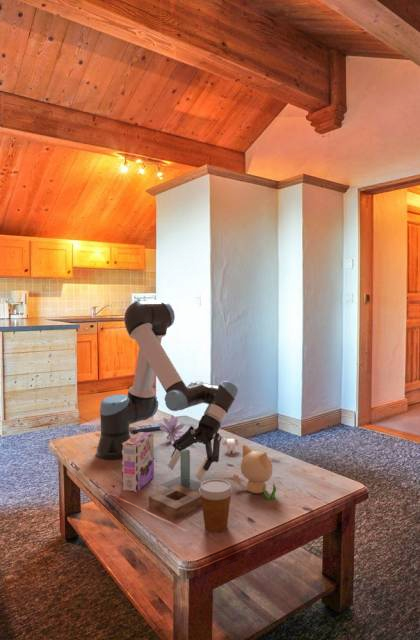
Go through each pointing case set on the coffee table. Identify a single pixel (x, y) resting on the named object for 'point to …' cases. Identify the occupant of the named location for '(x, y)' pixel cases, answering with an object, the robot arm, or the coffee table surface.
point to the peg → (185, 468)
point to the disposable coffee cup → (215, 504)
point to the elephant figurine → (230, 444)
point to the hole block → (170, 506)
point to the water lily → (172, 428)
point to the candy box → (137, 461)
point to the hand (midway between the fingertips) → (183, 472)
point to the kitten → (255, 471)
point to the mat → (193, 484)
